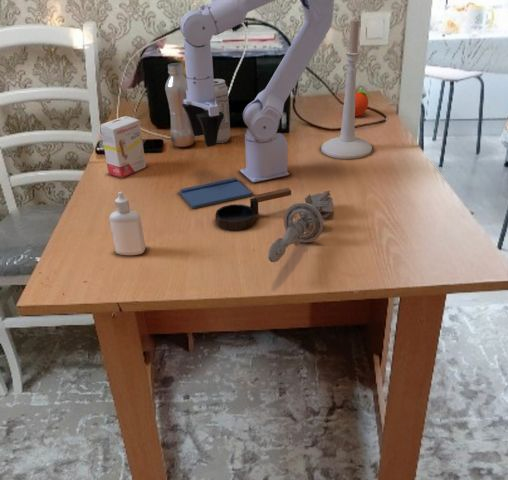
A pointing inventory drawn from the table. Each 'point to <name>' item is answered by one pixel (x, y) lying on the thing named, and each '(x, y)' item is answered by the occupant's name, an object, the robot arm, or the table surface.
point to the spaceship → (302, 223)
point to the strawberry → (360, 102)
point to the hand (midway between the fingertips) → (204, 140)
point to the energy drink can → (222, 109)
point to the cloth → (214, 193)
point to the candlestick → (349, 110)
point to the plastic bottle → (178, 106)
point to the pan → (245, 211)
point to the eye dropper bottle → (126, 228)
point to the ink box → (123, 146)
